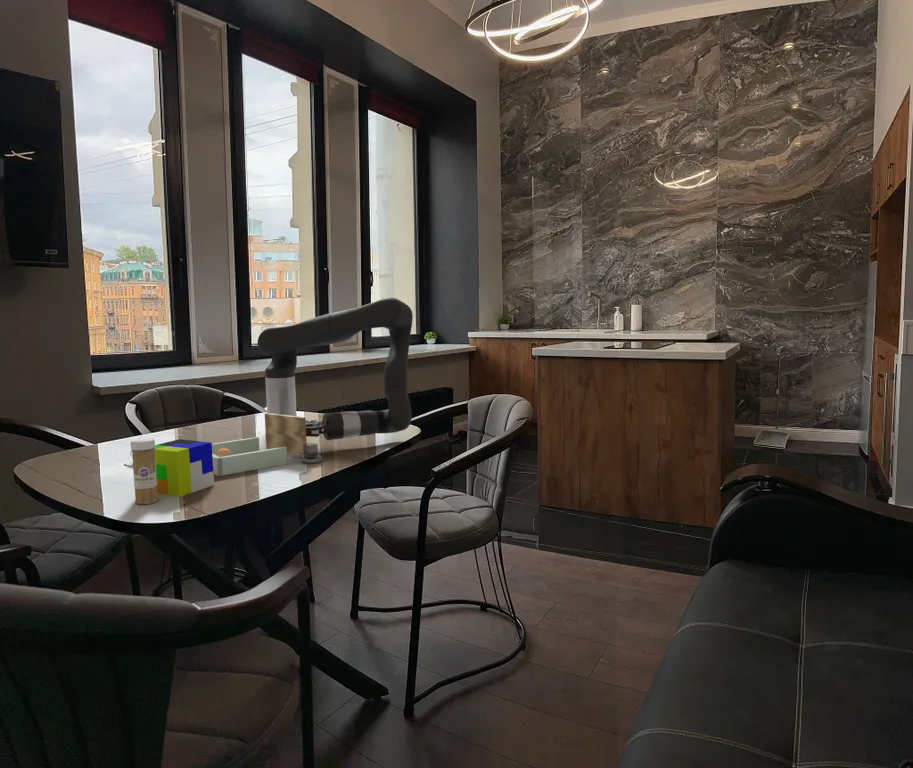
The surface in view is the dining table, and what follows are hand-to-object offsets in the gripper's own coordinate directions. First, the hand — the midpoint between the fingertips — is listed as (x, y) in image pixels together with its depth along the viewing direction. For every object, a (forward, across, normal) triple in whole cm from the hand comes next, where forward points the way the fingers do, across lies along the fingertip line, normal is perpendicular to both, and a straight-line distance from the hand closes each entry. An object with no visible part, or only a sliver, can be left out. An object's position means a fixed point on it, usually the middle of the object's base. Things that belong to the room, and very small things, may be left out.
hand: (279, 431), depth 181 cm
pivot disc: (-6, +11, +7) cm, 14 cm away
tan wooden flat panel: (-2, +5, +5) cm, 7 cm away
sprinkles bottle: (+34, +29, +7) cm, 45 cm away
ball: (+15, +2, +4) cm, 16 cm away
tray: (+11, +4, +6) cm, 14 cm away
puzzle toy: (+27, +22, +7) cm, 35 cm away
